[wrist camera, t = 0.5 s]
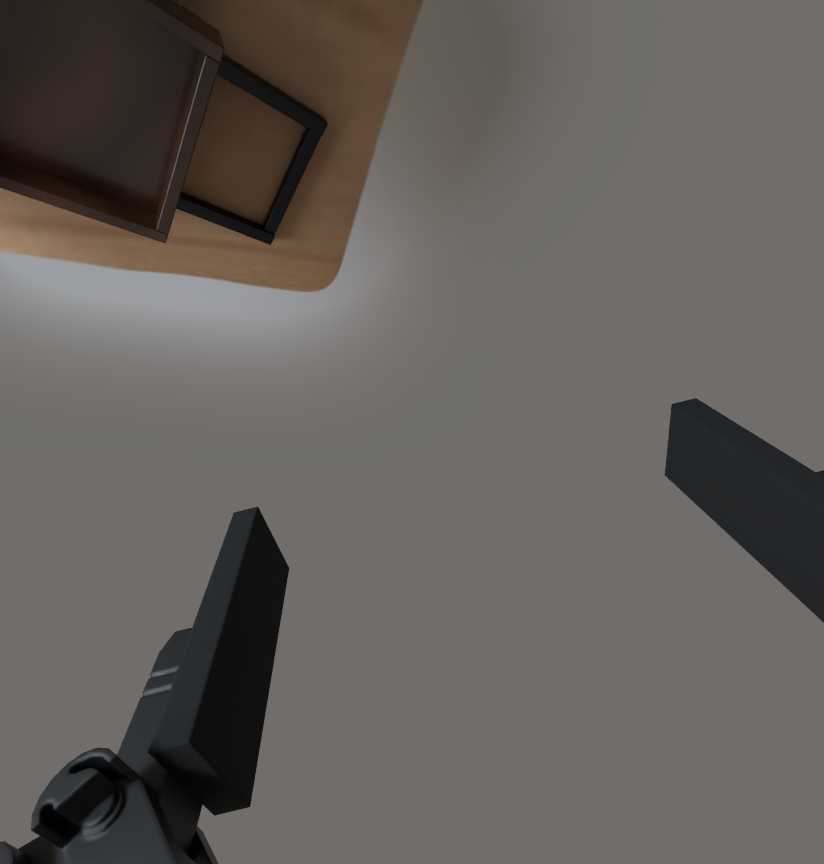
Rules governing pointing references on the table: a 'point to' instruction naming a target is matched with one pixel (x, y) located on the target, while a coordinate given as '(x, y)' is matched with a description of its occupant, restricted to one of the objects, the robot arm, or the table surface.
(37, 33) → the tray
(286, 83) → the table surface
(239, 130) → the table surface
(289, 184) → the tray rails
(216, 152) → the table surface
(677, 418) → the robot arm
